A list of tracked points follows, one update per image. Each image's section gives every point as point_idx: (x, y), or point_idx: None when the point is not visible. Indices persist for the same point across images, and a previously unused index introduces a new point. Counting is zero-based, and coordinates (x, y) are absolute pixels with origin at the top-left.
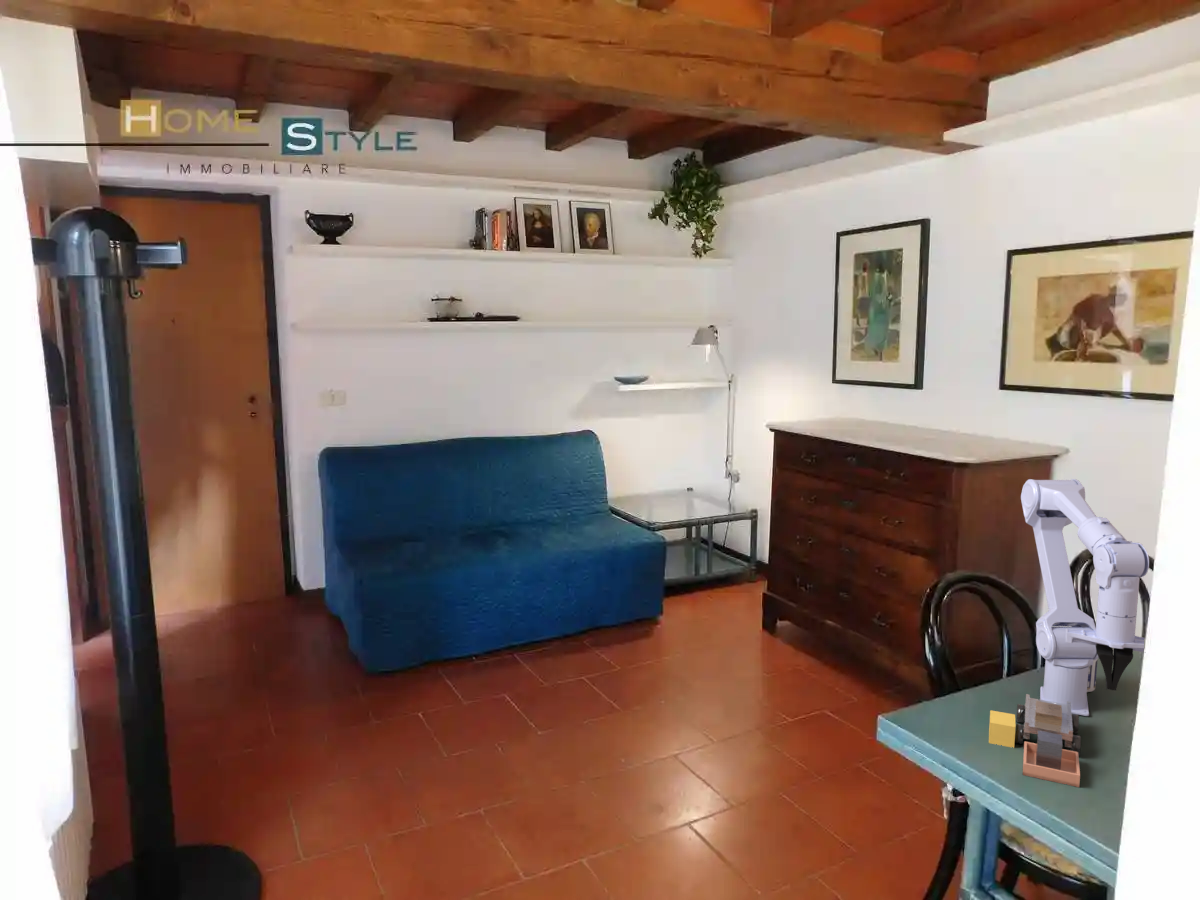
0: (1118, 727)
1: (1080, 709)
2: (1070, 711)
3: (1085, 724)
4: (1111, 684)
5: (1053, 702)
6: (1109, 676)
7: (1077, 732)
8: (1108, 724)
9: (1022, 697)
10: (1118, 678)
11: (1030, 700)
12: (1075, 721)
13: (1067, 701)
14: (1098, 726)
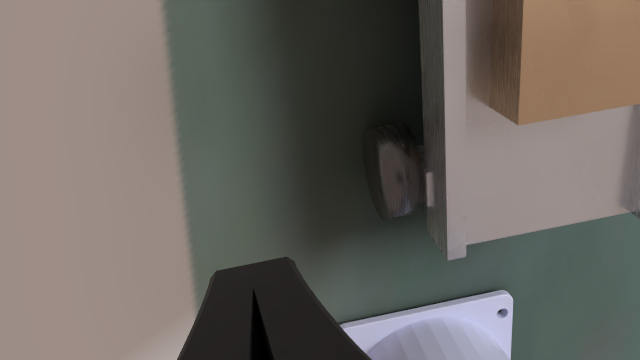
0: None
1: (367, 354)
2: (450, 135)
3: (337, 257)
4: (258, 288)
5: (520, 228)
6: (297, 340)
7: (367, 130)
8: None
9: (565, 335)
10: (189, 357)
11: (630, 181)
12: (396, 148)
13: (463, 255)
14: None
